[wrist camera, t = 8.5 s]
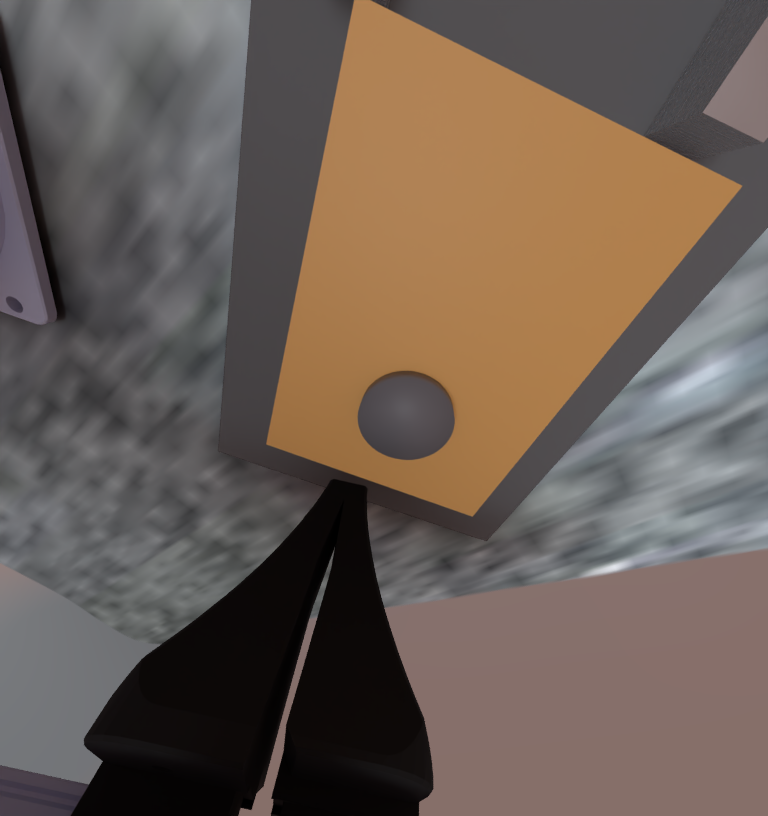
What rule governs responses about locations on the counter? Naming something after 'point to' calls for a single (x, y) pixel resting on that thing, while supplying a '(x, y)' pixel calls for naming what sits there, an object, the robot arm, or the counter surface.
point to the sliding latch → (718, 87)
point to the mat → (301, 163)
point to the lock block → (467, 262)
